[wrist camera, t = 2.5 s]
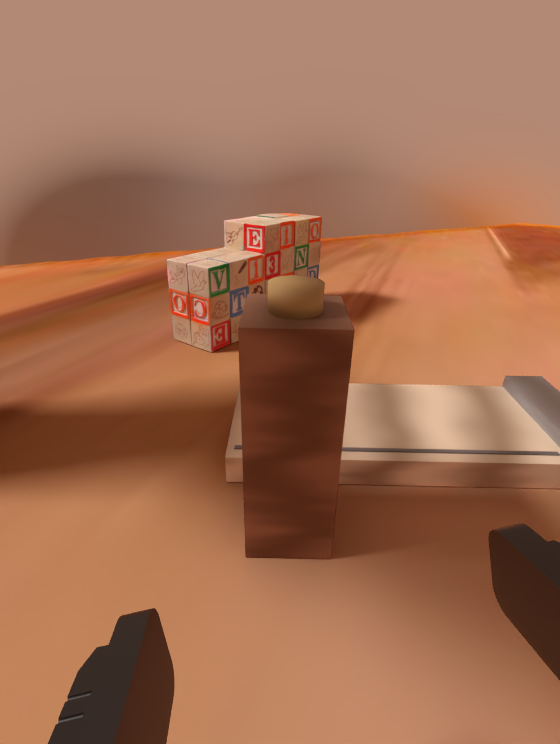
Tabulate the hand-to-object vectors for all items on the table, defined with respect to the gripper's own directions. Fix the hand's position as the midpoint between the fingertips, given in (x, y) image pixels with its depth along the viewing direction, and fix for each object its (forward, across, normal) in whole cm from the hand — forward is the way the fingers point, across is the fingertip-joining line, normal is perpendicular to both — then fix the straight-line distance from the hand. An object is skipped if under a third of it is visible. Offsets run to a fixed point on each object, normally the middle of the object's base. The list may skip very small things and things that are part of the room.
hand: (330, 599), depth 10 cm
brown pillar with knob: (+13, 0, +6) cm, 15 cm away
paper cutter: (+17, -9, +7) cm, 20 cm away
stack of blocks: (+46, 0, -3) cm, 46 cm away
